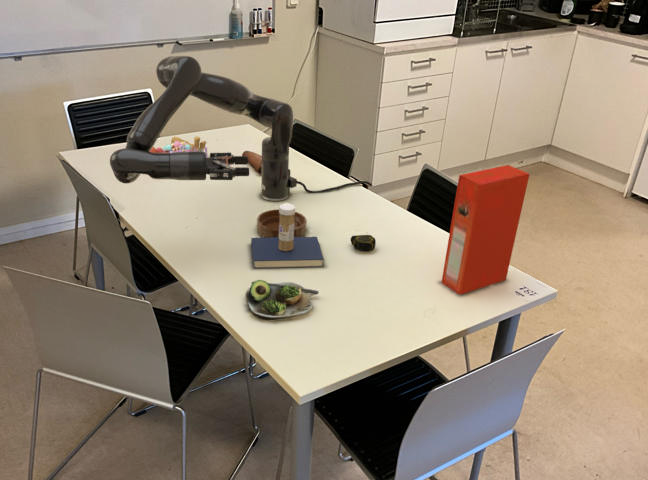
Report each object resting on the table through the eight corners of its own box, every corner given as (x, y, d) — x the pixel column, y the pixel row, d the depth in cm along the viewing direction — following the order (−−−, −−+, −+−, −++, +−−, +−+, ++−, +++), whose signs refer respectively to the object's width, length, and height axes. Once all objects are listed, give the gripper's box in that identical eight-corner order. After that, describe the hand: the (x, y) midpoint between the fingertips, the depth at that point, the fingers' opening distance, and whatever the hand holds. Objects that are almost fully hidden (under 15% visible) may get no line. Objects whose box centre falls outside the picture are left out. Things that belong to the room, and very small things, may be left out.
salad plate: (311, 282, 184) (312, 267, 182) (327, 317, 170) (328, 302, 167) (241, 288, 180) (241, 273, 178) (252, 324, 166) (252, 309, 163)
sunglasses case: (279, 171, 252) (271, 158, 248) (264, 182, 252) (255, 169, 247) (261, 156, 266) (253, 143, 261) (247, 166, 265) (238, 153, 261)
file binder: (440, 282, 187) (459, 174, 170) (485, 268, 195) (507, 164, 178) (460, 295, 182) (481, 185, 165) (505, 280, 189) (530, 174, 173)
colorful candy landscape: (157, 150, 268) (155, 127, 263) (214, 155, 266) (213, 132, 261) (135, 172, 247) (133, 148, 242) (197, 178, 245) (196, 154, 240)
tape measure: (371, 243, 206) (372, 232, 204) (377, 254, 200) (378, 242, 198) (350, 244, 205) (350, 233, 203) (355, 255, 199) (356, 243, 197)
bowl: (282, 216, 220) (282, 205, 218) (315, 232, 211) (316, 221, 209) (247, 229, 210) (247, 218, 208) (280, 247, 201) (280, 235, 199)
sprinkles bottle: (275, 248, 195) (275, 206, 188) (285, 243, 198) (286, 201, 191) (286, 253, 192) (287, 211, 185) (297, 248, 195) (298, 206, 188)
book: (251, 245, 201) (251, 237, 200) (316, 244, 204) (317, 236, 202) (253, 268, 190) (253, 260, 188) (323, 267, 192) (323, 259, 191)
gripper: (186, 162, 170) (249, 162, 172) (188, 143, 182) (247, 143, 184) (188, 189, 174) (249, 189, 176) (189, 169, 186) (247, 169, 188)
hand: (248, 165), depth 180 cm, fingers open, 8 cm apart
